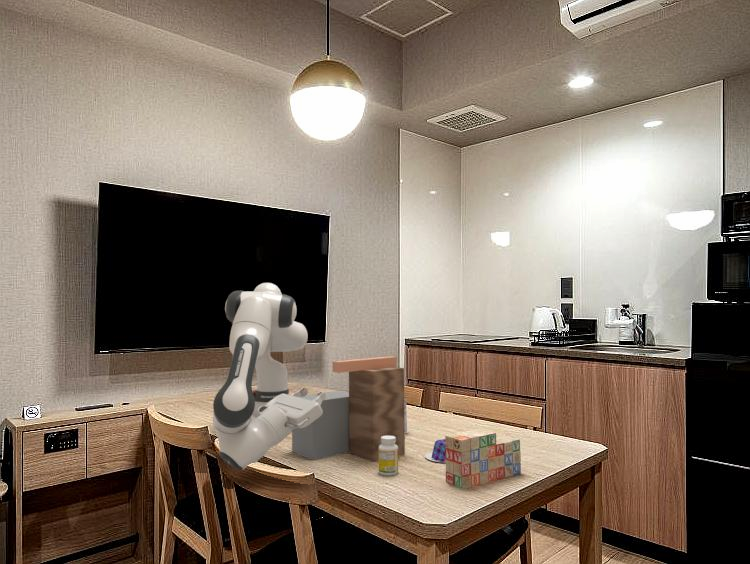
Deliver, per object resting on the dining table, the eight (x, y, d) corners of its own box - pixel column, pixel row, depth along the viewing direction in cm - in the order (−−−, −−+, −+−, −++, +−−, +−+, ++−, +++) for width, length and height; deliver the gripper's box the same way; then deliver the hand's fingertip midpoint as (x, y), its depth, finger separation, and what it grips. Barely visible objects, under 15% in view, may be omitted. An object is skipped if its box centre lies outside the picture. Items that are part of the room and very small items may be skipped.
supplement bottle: (390, 477, 149) (389, 440, 150) (374, 473, 153) (374, 437, 153) (402, 472, 154) (402, 436, 154) (387, 468, 157) (386, 433, 157)
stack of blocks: (503, 468, 157) (503, 423, 157) (521, 474, 152) (520, 427, 152) (445, 482, 145) (444, 434, 145) (461, 489, 140) (461, 439, 140)
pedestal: (312, 459, 166) (312, 401, 167) (292, 451, 176) (291, 396, 176) (361, 449, 177) (361, 394, 178) (339, 442, 187) (339, 390, 187)
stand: (373, 461, 164) (372, 371, 164) (349, 453, 173) (348, 367, 174) (404, 454, 171) (403, 368, 172) (379, 446, 181) (379, 364, 181)
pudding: (472, 463, 163) (471, 444, 163) (432, 466, 160) (432, 447, 160) (457, 452, 174) (456, 435, 175) (419, 454, 172) (419, 437, 172)
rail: (338, 372, 162) (338, 362, 163) (332, 371, 165) (332, 361, 165) (396, 366, 176) (396, 356, 176) (390, 365, 178) (390, 356, 178)
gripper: (291, 419, 142) (330, 387, 150) (254, 407, 159) (291, 379, 166) (302, 439, 144) (340, 406, 152) (264, 425, 160) (301, 396, 168)
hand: (314, 392), depth 159 cm, fingers open, 8 cm apart
